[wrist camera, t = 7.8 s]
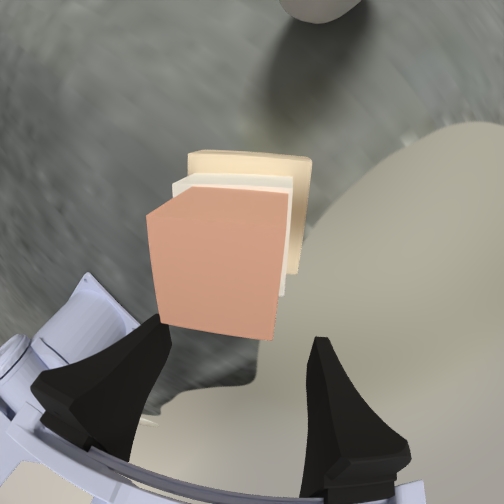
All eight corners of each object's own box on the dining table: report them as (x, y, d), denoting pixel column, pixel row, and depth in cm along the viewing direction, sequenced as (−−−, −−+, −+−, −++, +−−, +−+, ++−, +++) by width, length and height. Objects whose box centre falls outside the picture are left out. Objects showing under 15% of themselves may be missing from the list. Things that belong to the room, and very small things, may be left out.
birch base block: (296, 253, 20) (297, 275, 17) (204, 242, 20) (189, 261, 18) (308, 156, 17) (312, 162, 14) (204, 149, 17) (188, 153, 15)
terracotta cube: (279, 280, 14) (272, 341, 10) (194, 269, 14) (160, 322, 10) (288, 193, 12) (286, 228, 8) (192, 186, 12) (146, 215, 8)
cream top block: (285, 267, 17) (284, 296, 14) (198, 259, 17) (181, 285, 15) (292, 176, 14) (292, 188, 12) (194, 173, 15) (172, 184, 12)
